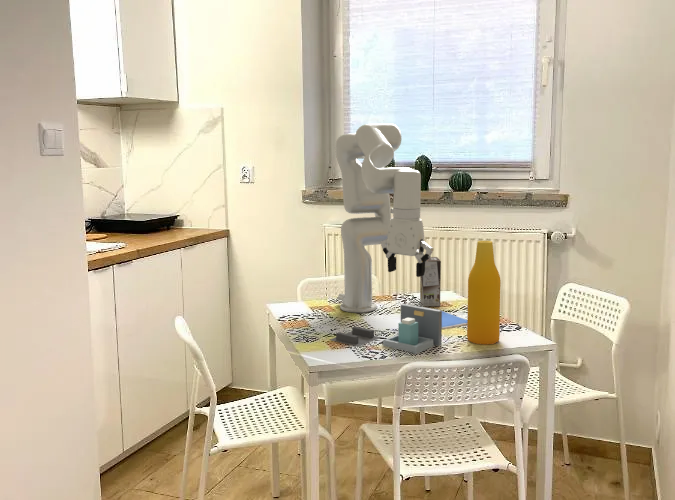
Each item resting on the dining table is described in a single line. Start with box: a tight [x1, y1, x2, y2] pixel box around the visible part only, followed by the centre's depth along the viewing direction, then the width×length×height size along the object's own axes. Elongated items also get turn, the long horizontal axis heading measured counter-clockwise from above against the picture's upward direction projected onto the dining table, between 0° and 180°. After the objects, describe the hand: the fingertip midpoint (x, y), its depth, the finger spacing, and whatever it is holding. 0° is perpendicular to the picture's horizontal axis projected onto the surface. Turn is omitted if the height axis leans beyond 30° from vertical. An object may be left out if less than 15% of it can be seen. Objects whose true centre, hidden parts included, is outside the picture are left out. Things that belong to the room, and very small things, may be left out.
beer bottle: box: [466, 240, 502, 345], centre depth 196 cm, size 9×9×29 cm
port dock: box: [382, 303, 443, 355], centre depth 193 cm, size 13×12×10 cm
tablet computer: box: [435, 308, 468, 330], centre depth 221 cm, size 19×13×1 cm, turn 29°
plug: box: [397, 318, 419, 345], centre depth 193 cm, size 4×4×8 cm
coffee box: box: [419, 256, 442, 307], centre depth 241 cm, size 9×6×16 cm
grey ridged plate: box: [329, 326, 382, 347], centre depth 200 cm, size 11×11×2 cm
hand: (405, 273), depth 195 cm, fingers open, 9 cm apart
